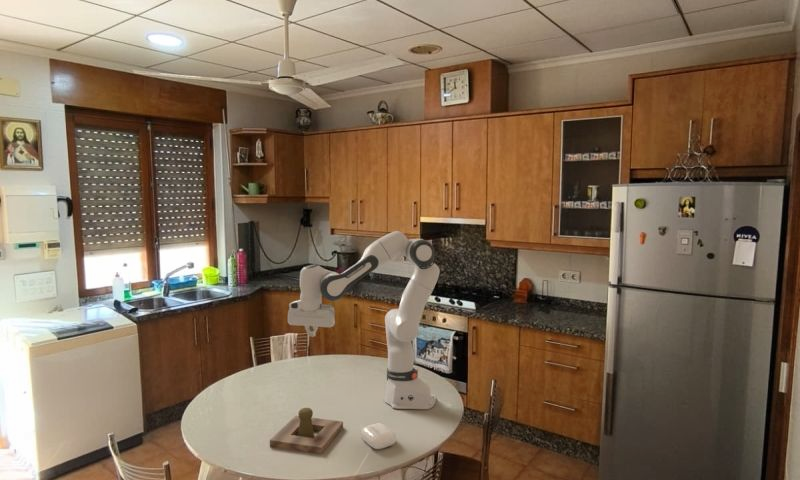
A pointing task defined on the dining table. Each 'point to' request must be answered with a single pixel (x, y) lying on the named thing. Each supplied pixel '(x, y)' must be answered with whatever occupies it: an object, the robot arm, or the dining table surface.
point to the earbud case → (378, 436)
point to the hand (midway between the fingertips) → (311, 336)
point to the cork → (306, 423)
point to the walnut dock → (305, 444)
